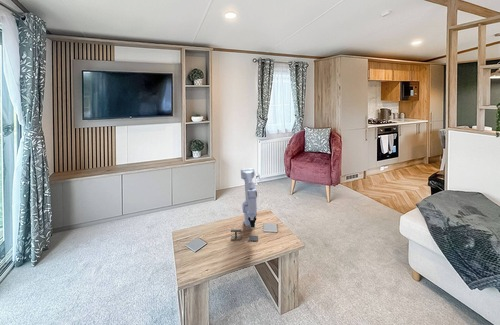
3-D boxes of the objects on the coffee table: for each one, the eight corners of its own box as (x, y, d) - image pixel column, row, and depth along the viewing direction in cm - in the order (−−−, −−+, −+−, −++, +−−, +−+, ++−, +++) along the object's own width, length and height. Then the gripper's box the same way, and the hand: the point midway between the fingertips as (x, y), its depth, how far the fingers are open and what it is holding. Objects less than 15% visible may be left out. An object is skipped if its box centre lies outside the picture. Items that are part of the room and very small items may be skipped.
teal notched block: (250, 224, 182) (250, 217, 181) (255, 224, 182) (254, 217, 181) (250, 228, 177) (249, 220, 176) (254, 227, 177) (254, 220, 176)
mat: (249, 236, 185) (249, 235, 185) (258, 236, 185) (258, 235, 185) (248, 241, 179) (248, 240, 179) (257, 241, 179) (257, 240, 178)
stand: (231, 236, 186) (231, 228, 184) (241, 236, 185) (241, 228, 184) (230, 240, 181) (230, 231, 179) (240, 240, 180) (240, 231, 179)
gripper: (247, 202, 183) (247, 220, 187) (245, 211, 169) (246, 230, 173) (257, 202, 183) (257, 220, 186) (256, 211, 169) (257, 230, 172)
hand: (252, 225), depth 179 cm, fingers closed on teal notched block, 5 cm apart
